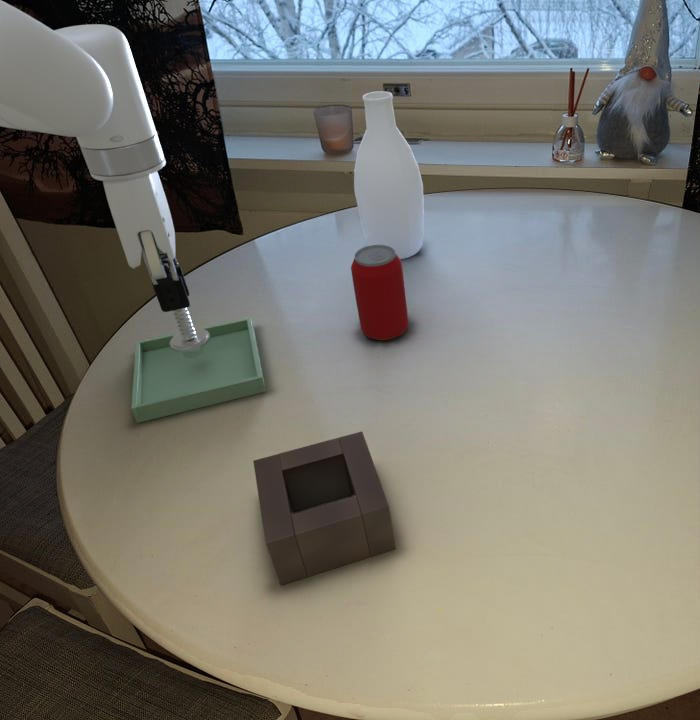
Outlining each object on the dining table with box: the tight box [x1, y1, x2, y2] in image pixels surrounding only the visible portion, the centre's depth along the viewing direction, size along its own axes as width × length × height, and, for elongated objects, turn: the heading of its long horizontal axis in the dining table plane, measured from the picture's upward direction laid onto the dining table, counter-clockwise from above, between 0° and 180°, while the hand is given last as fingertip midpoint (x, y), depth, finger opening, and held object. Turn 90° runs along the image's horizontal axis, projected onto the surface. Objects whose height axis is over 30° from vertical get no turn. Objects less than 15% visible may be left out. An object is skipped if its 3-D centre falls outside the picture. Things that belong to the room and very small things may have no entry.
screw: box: [163, 263, 210, 358], centre depth 83 cm, size 13×5×5 cm
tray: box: [130, 317, 267, 424], centre depth 89 cm, size 15×15×2 cm
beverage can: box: [350, 245, 409, 341], centre depth 92 cm, size 7×7×12 cm
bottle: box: [353, 90, 425, 260], centre depth 109 cm, size 11×11×25 cm
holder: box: [252, 431, 397, 586], centre depth 66 cm, size 11×11×6 cm
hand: (176, 302), depth 83 cm, fingers closed on screw, 2 cm apart
